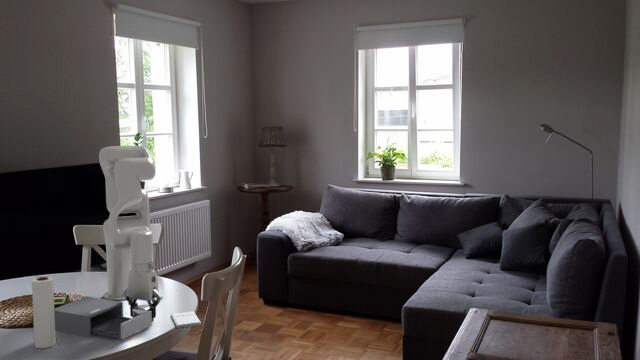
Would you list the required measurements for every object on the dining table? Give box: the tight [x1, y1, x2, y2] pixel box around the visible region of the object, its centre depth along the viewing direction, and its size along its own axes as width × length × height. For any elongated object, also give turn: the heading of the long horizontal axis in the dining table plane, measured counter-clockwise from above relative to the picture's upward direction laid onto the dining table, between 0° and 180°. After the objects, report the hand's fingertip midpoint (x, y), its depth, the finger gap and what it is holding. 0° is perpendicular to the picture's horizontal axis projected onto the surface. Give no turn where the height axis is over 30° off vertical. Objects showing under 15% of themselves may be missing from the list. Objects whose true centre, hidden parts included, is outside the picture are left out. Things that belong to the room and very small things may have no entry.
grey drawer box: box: [54, 296, 124, 338], centre depth 201 cm, size 16×16×7 cm
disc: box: [132, 304, 150, 316], centre depth 205 cm, size 7×7×2 cm
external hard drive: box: [170, 311, 202, 329], centre depth 208 cm, size 2×8×12 cm
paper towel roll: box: [31, 275, 57, 349], centre depth 184 cm, size 7×6×21 cm
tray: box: [91, 311, 153, 340], centre depth 197 cm, size 14×17×5 cm
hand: (143, 316), depth 205 cm, fingers closed on disc, 7 cm apart
